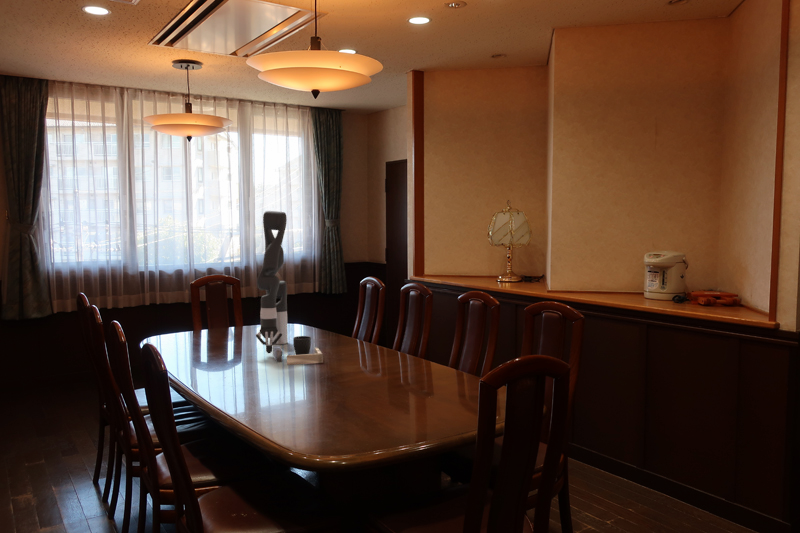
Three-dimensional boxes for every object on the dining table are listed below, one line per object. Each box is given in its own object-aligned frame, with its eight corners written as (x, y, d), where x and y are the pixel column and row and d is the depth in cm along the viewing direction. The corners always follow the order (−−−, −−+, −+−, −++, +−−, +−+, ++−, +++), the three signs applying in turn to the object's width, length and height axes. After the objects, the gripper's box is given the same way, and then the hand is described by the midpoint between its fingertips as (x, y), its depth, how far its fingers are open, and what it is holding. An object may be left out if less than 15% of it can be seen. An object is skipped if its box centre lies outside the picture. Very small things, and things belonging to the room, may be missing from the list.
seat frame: (284, 357, 282) (284, 349, 282) (318, 355, 286) (318, 347, 286) (287, 364, 268) (287, 356, 268) (322, 362, 272) (322, 353, 272)
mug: (306, 353, 292) (305, 334, 292) (313, 358, 281) (313, 338, 281) (289, 354, 289) (289, 335, 288) (296, 359, 278) (295, 339, 277)
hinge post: (276, 361, 275) (276, 350, 275) (281, 360, 276) (281, 349, 276) (276, 362, 273) (276, 351, 273) (282, 362, 274) (281, 350, 273)
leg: (282, 360, 276) (282, 351, 276) (275, 360, 275) (275, 351, 275) (279, 353, 290) (279, 345, 289) (273, 354, 289) (272, 345, 289)
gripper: (281, 315, 290) (282, 350, 291) (253, 316, 286) (254, 352, 287) (283, 317, 283) (283, 353, 284) (254, 318, 279) (255, 355, 280)
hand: (269, 353), depth 285 cm, fingers closed
